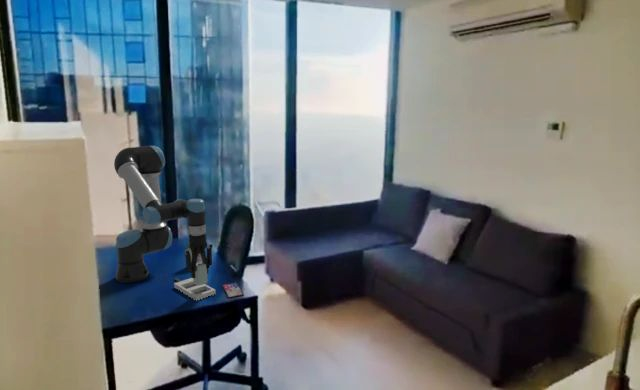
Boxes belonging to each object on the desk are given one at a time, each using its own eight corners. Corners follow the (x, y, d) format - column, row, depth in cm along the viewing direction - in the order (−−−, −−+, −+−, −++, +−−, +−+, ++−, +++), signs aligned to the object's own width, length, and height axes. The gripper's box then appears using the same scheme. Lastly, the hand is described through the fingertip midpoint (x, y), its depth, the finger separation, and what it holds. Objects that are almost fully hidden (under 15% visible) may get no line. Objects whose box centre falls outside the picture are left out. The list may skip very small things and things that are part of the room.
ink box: (189, 268, 238) (188, 244, 235) (187, 266, 242) (186, 242, 239) (202, 266, 242) (201, 242, 239) (200, 264, 245) (199, 240, 242)
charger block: (194, 283, 207) (192, 264, 205) (202, 280, 210) (201, 261, 208) (198, 285, 204) (197, 266, 202) (207, 282, 207) (206, 264, 205)
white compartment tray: (165, 282, 221) (165, 278, 221) (184, 276, 228) (184, 272, 228) (196, 301, 202) (196, 296, 201) (215, 294, 209) (215, 289, 208)
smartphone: (227, 297, 205) (221, 284, 218) (228, 299, 205) (221, 286, 218) (244, 294, 207) (237, 282, 221) (244, 296, 208) (237, 283, 221)
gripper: (184, 239, 193) (187, 290, 198) (218, 231, 205) (221, 279, 210) (175, 236, 198) (179, 285, 203) (209, 227, 210) (212, 275, 215)
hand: (200, 282), depth 207 cm, fingers closed on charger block, 4 cm apart
